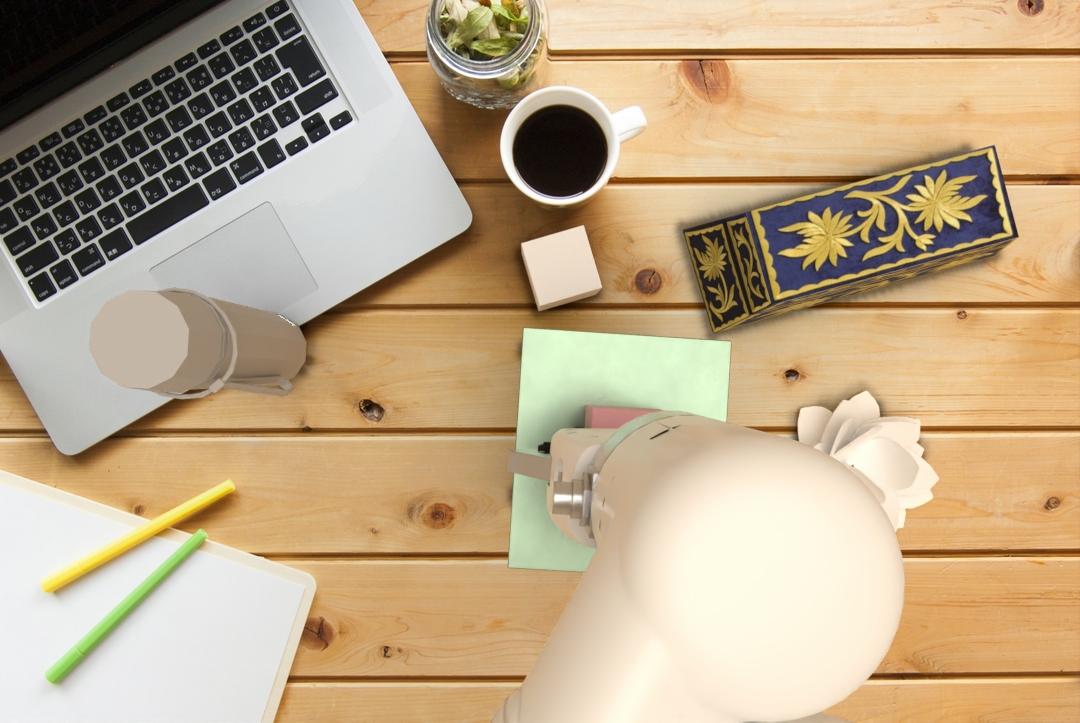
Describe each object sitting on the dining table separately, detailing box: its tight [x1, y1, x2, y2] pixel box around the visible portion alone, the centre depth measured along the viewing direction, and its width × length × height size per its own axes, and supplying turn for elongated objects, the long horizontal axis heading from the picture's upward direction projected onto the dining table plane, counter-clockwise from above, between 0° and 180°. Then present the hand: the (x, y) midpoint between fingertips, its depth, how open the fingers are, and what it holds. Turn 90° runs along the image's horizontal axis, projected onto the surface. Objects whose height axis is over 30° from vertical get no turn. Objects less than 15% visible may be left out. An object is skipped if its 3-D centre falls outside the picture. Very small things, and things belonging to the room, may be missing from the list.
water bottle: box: [88, 286, 308, 400], centre depth 60 cm, size 9×8×25 cm
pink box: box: [585, 405, 664, 428], centre depth 46 cm, size 6×5×5 cm
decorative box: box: [682, 144, 1020, 334], centre depth 69 cm, size 11×30×9 cm, turn 105°
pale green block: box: [507, 326, 733, 574], centre depth 61 cm, size 16×14×24 cm
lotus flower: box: [797, 390, 940, 533], centre depth 69 cm, size 14×15×9 cm
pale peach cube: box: [520, 224, 603, 312], centre depth 70 cm, size 6×6×6 cm
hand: (621, 453), depth 48 cm, fingers closed on pink box, 5 cm apart
